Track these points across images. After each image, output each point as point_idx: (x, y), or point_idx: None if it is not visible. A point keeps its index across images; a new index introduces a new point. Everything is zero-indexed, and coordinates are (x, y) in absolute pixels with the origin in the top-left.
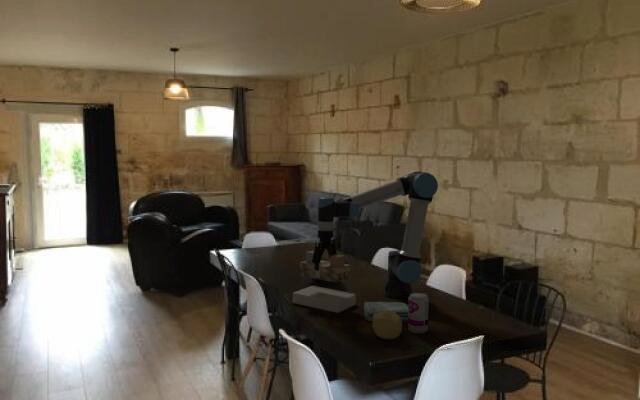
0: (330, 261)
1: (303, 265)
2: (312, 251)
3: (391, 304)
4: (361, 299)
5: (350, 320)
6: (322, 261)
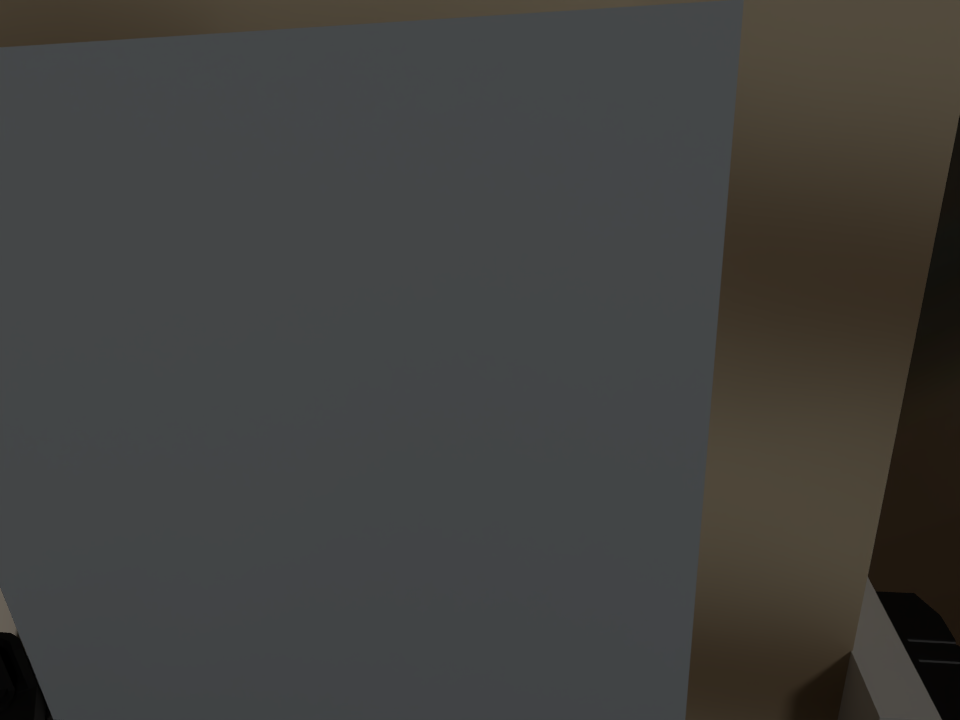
0: (846, 703)
1: None
2: (435, 338)
3: None
4: (941, 537)
5: None
6: (709, 507)
